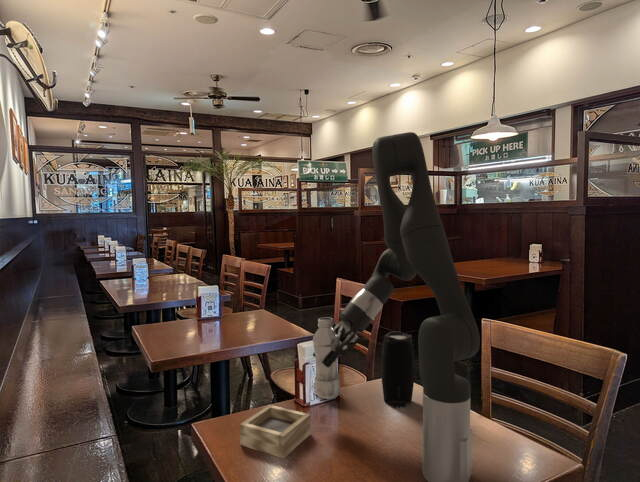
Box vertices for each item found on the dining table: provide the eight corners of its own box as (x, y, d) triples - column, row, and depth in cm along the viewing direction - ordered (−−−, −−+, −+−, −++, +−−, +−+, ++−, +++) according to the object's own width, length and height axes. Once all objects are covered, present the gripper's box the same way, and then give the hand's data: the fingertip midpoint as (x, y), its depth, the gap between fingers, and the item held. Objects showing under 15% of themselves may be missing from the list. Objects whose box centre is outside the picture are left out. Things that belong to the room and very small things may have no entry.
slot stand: (310, 434, 106) (310, 414, 106) (283, 458, 96) (283, 436, 95) (269, 423, 112) (269, 404, 112) (240, 445, 101) (240, 424, 101)
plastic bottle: (338, 402, 107) (336, 322, 106) (311, 401, 108) (309, 321, 107) (342, 392, 113) (340, 316, 112) (317, 391, 114) (315, 315, 114)
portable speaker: (386, 393, 131) (387, 329, 130) (417, 399, 126) (418, 333, 125) (377, 404, 123) (377, 336, 122) (409, 411, 119) (409, 340, 118)
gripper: (340, 297, 119) (300, 345, 115) (364, 305, 106) (320, 360, 102) (358, 314, 121) (319, 362, 117) (384, 325, 108) (341, 379, 104)
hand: (320, 361), depth 110 cm, fingers closed on plastic bottle, 6 cm apart
